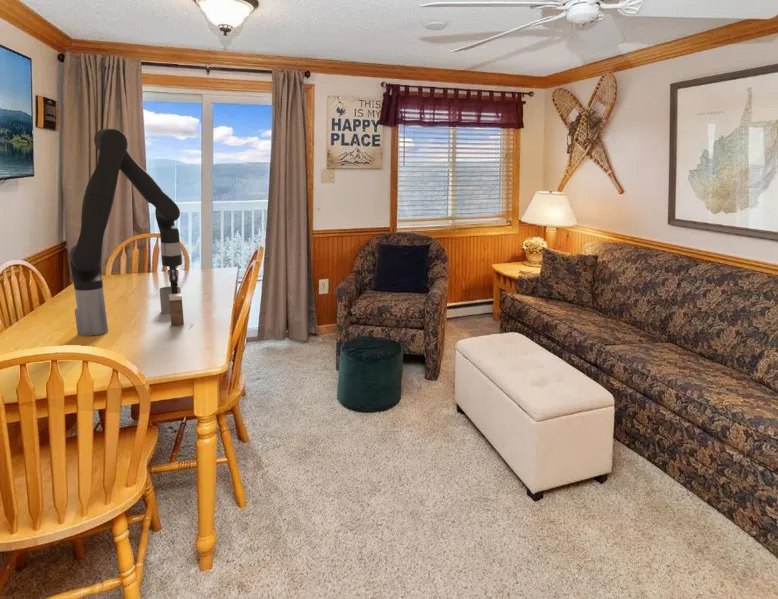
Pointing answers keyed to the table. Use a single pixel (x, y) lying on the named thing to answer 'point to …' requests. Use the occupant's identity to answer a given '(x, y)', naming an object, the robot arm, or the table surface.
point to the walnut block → (176, 309)
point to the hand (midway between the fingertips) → (174, 295)
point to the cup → (166, 298)
